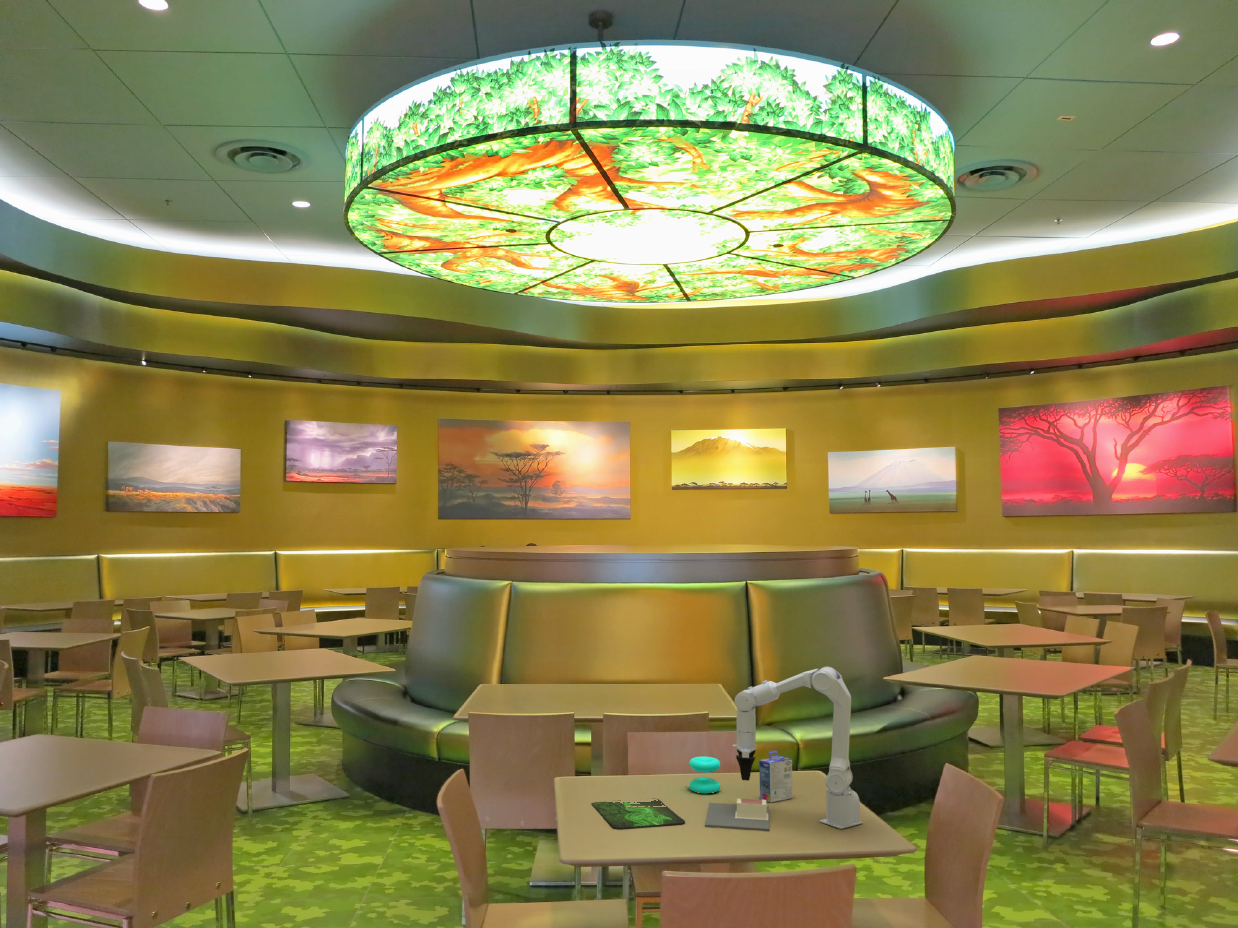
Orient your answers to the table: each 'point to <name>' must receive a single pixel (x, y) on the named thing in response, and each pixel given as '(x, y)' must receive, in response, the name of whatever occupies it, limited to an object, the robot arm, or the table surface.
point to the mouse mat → (637, 814)
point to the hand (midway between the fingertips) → (745, 776)
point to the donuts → (705, 767)
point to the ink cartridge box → (775, 778)
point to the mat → (733, 818)
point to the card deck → (751, 808)
